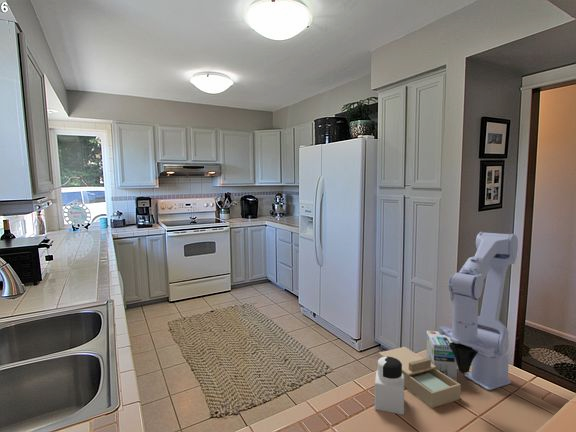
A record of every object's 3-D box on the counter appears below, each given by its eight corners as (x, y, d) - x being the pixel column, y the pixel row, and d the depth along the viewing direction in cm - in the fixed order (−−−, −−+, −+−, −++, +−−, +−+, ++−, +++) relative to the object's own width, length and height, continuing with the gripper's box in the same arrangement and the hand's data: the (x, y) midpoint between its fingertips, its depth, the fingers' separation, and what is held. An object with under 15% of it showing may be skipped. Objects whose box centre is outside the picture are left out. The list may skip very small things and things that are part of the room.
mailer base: (424, 374, 99) (424, 361, 99) (460, 398, 87) (460, 384, 87) (397, 381, 96) (398, 368, 95) (431, 408, 83) (432, 393, 83)
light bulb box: (457, 382, 95) (458, 346, 94) (433, 379, 96) (433, 344, 96) (447, 363, 105) (447, 331, 105) (425, 361, 107) (425, 329, 106)
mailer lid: (404, 348, 107) (404, 340, 107) (436, 368, 95) (436, 359, 95) (378, 354, 104) (378, 346, 103) (408, 375, 91) (408, 366, 91)
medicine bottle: (403, 398, 88) (404, 355, 87) (403, 415, 81) (404, 369, 80) (376, 393, 90) (376, 351, 89) (374, 409, 83) (374, 364, 82)
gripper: (430, 312, 88) (430, 361, 89) (479, 334, 74) (478, 390, 75) (450, 309, 90) (449, 356, 91) (500, 329, 77) (499, 384, 78)
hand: (463, 371), depth 83 cm, fingers closed
